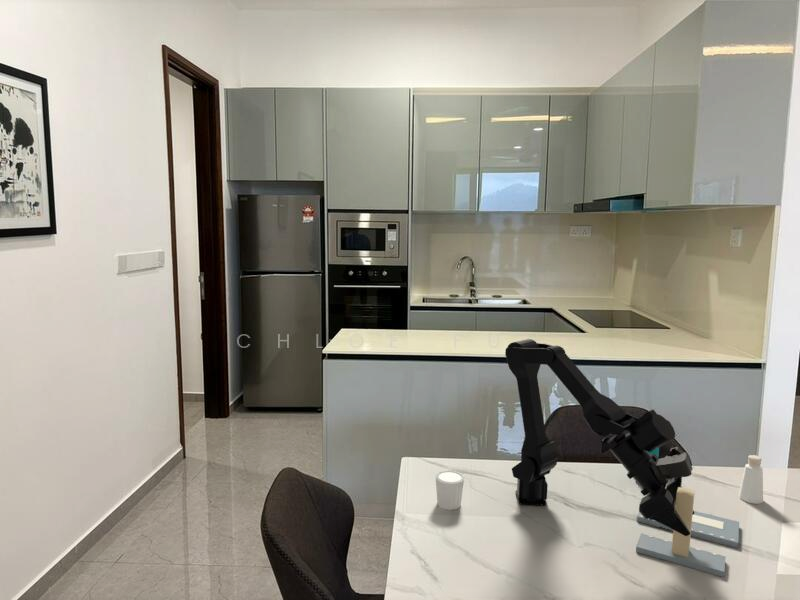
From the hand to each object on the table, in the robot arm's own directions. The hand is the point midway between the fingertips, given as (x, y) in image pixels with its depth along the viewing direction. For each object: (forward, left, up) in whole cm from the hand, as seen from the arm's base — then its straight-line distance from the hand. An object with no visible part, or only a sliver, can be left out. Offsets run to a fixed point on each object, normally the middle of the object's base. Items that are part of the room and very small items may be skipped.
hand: (690, 524), depth 116 cm
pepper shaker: (+27, +28, -8) cm, 40 cm away
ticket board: (+6, +14, -8) cm, 17 cm away
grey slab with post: (-1, +1, -8) cm, 8 cm away
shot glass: (-48, +19, -8) cm, 52 cm away
